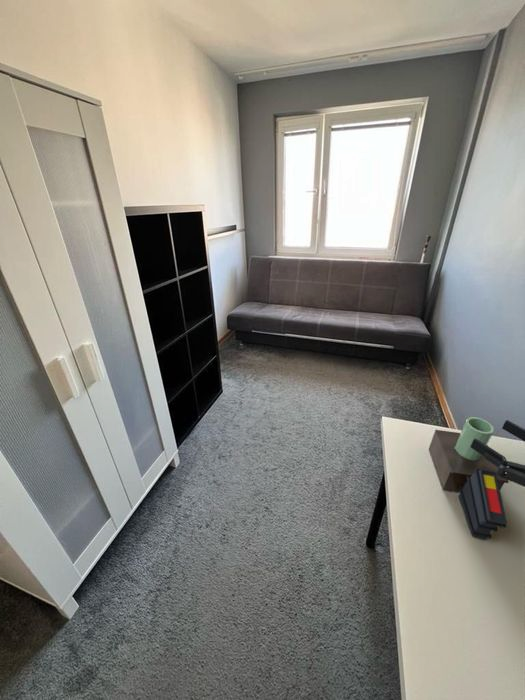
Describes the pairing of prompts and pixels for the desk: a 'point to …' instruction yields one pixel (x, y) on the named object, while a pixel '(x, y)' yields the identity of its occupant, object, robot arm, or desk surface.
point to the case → (446, 469)
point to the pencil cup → (473, 437)
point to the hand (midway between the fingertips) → (489, 432)
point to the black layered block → (482, 504)
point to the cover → (460, 463)
